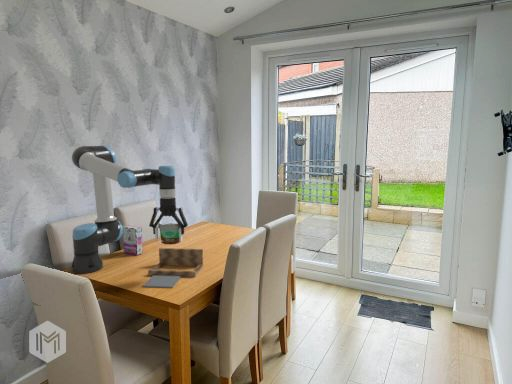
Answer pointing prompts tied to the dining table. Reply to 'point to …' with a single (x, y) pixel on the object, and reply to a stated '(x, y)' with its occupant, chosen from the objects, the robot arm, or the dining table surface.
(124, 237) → the candy bar box
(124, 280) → the dining table surface
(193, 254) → the wooden frame
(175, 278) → the mat
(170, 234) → the food container
